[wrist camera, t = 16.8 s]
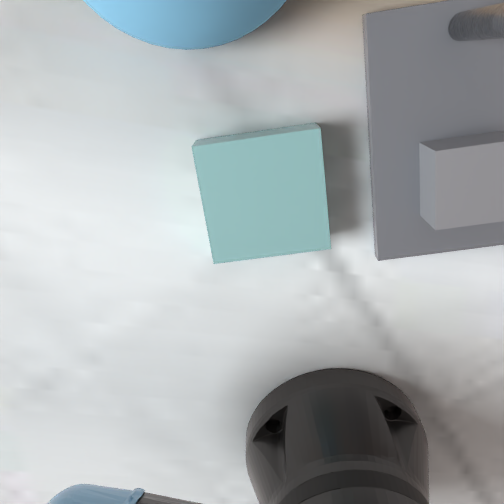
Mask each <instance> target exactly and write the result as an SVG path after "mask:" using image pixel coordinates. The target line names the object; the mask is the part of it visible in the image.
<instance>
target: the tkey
mask: <svg viewBox="0 0 504 504" xmlns="http://www.w3.org/2000/svg"><path fill="white" fill-rule="evenodd" d="M448 32H449V35H450V36H451V38H452V39H454V40H456V41H472V40H486V39H501V38H504V3H500V4H495V5H490V6H486V7H481V8H476V9H471V10H467V11H462V12H459V13H457V14H455V15H454V16H453V17H452V19H451V20H450V22H449V26H448Z"/></svg>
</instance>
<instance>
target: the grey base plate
mask: <svg viewBox="0 0 504 504" xmlns="http://www.w3.org/2000/svg"><path fill="white" fill-rule="evenodd" d="M500 3H504V0H448V1H442V2H436V3H429V4H423V5H417V6H411V7H405V8H398V9H392V10H386V11H380V12H374V13H367V14H364V15H363V33H364V53H365V72H366V91H367V111H368V130H369V149H370V169H371V188H372V207H373V227H374V246H375V256H376V258H377V260H378V261H380V260H388V259H395V258H403V257H411V256H419V255H427V254H434V253H442V252H450V251H458V250H465V249H473V248H481V247H489V246H496V245H504V38H501V39H486V40H472V41H456V40H454V39H452V38H451V36H450V35H449V32H448V26H449V22H450V20H451V19H452V17H453V16H454V15H455V14H457V13H459V12H462V11H467V10H471V9H476V8H481V7H486V6H490V5H495V4H500Z"/></svg>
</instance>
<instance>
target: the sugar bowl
mask: <svg viewBox="0 0 504 504" xmlns="http://www.w3.org/2000/svg"><path fill="white" fill-rule="evenodd" d="M84 1H85V3H86V4H87V5H88V6H89V7H91V8H92V9H93V10H94V11H95V12H96V13H97V14H98V15H99V16H100V17H102V18H103V19H104V20H106V21H107V22H109V23H110V24H111V25H113V26H114V27H116V28H117V29H119V30H121V31H123V32H124V33H126V34H128V35H130V36H132V37H134V38H137V39H139V40H142V41H145V42H147V43H150V44H153V45H158V46H162V47H166V48H174V49H185V50H188V49H204V48H209V47H214V46H219V45H223V44H225V43H228V42H231V41H234V40H237V39H239V38H241V37H242V36H244V35H246V34H248V33H250V32H252V31H253V30H255V29H256V28H258V27H259V26H260V25H262V24H263V23H265V22H266V21H267V20H268V19H269V18H270V17H271V16H273V15H274V14H275V13H276V12H277V11H278V10H279V9H280V8H281V6H282V5H283V4H284V3H285V2H286V0H84Z"/></svg>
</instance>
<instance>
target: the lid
mask: <svg viewBox="0 0 504 504" xmlns="http://www.w3.org/2000/svg"><path fill="white" fill-rule="evenodd" d="M192 151H193V157H194V162H195V167H196V172H197V178H198V183H199V188H200V194H201V199H202V204H203V209H204V215H205V220H206V225H207V231H208V236H209V241H210V246H211V252H212V257H213V262H214V264H217V263H225V262H233V261H241V260H248V259H256V258H264V257H272V256H280V255H287V254H295V253H303V252H311V251H319V250H326V249H331V242H330V230H329V219H328V208H327V196H326V185H325V173H324V162H323V150H322V139H321V128H320V127H319V126H318V125H317V124H316V123H310V124H304V125H297V126H290V127H283V128H276V129H269V130H262V131H255V132H248V133H242V134H235V135H228V136H221V137H214V138H207V139H200V140H196V141H195V143H194V144H193V146H192Z"/></svg>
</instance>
